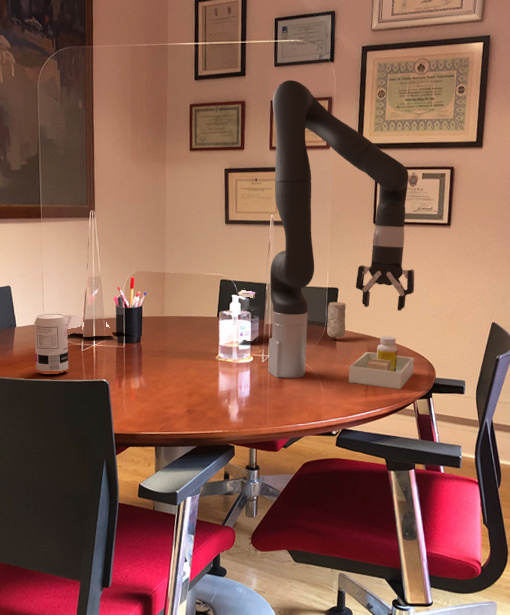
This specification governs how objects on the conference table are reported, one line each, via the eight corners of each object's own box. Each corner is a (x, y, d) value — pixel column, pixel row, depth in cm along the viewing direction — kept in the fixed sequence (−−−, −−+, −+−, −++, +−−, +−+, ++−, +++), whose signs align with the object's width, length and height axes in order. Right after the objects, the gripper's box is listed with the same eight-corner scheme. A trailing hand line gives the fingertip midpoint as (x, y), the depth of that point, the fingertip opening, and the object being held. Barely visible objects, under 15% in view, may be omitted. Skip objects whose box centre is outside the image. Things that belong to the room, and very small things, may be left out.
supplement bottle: (398, 375, 166) (400, 340, 164) (378, 375, 166) (380, 339, 164) (393, 370, 171) (395, 335, 169) (373, 369, 171) (375, 335, 169)
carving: (342, 334, 219) (344, 301, 217) (346, 339, 212) (348, 305, 210) (325, 334, 219) (326, 301, 217) (328, 339, 212) (329, 304, 210)
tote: (399, 392, 155) (401, 373, 154) (348, 384, 160) (349, 366, 159) (412, 375, 170) (414, 357, 169) (365, 369, 175) (366, 351, 174)
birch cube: (385, 384, 158) (386, 365, 157) (366, 381, 160) (367, 362, 159) (389, 379, 163) (390, 360, 162) (370, 376, 165) (371, 358, 164)
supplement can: (30, 371, 165) (28, 315, 162) (58, 365, 171) (57, 312, 168) (45, 377, 159) (44, 320, 157) (74, 371, 165) (73, 316, 163)
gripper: (419, 246, 155) (413, 309, 158) (364, 242, 161) (359, 303, 164) (414, 247, 149) (407, 313, 151) (356, 243, 155) (351, 307, 157)
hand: (382, 308), depth 158 cm, fingers open, 8 cm apart
